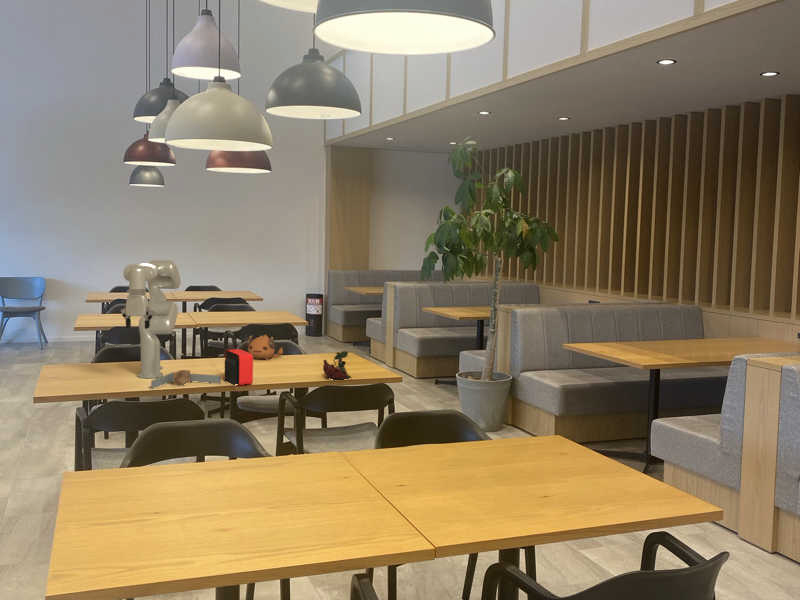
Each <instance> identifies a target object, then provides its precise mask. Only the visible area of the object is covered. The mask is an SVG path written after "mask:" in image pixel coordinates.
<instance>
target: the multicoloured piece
mask: <svg viewBox="0 0 800 600" xmlns="http://www.w3.org/2000/svg"><path fill="white" fill-rule="evenodd" d="M335 354H336V355H335V356H334V358H333V361H332V362H333V363H334V364H330V363H328V360H326V359H323V367H322V369H323V372H324V374H325V375H326V377H329V378H330V379H333V380H344V379H349V378H351V379H352V376H350V375H349V374H348V372H347V369H346V368H345V365H346V364H347V362H346V361H345V360H343V359H344V358H347V357H348V356H349V355H348V351H345V350H344V351H341V352H340V351H338V352H335ZM335 360H336V361H335ZM337 364H338V365H337Z"/></svg>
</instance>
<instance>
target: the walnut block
mask: <svg viewBox="0 0 800 600" xmlns="http://www.w3.org/2000/svg"><path fill="white" fill-rule="evenodd" d="M173 373H174V381H173V385H184V384H186V383H189V382H190V374H191V370H187V369H184V370H183V369H180V370H177V371H175V372H173Z"/></svg>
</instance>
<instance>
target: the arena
mask: <svg viewBox="0 0 800 600" xmlns="http://www.w3.org/2000/svg"><path fill="white" fill-rule="evenodd" d="M174 373H175V372H169V373H167V374H165V375H164V374H163V376H162V377H158V378H153V379H152V380H150V381H151V385H150V386H151V387H150V388H155V387H158V386H160V385H163V384H165V383H168V382H170V383H172V382H171V381H173V380H174ZM221 378H222V377H221V375H220V374H205V373H203V374H201V373H190V381H198V382H212V383H220V382H221V381H222V380H221ZM173 382H174V381H173ZM212 383H211V384H212ZM168 384H169V383H168ZM220 384H221V383H220ZM165 385H166V384H165ZM163 386H164V385H163ZM158 388H159V387H158Z"/></svg>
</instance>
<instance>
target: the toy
mask: <svg viewBox="0 0 800 600" xmlns="http://www.w3.org/2000/svg"><path fill="white" fill-rule="evenodd" d="M245 342H246V343H245V344H246V347H247V352H248V353H251V354H252V355H253V360H256V359H265V360H266V361H268V359H269V358H277V357H280V356H281V355H283V353H284V350H283V347H280V348H279V350H278V351H277V353H275V352H276V351H275V347H276V344H275V340H274V337H273V336H271V337H270V338H269V336H267V334H264V335H260V336H258V337H256V338H253V335H250V336H249V337H248V338H247V339H246V341H245Z"/></svg>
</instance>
